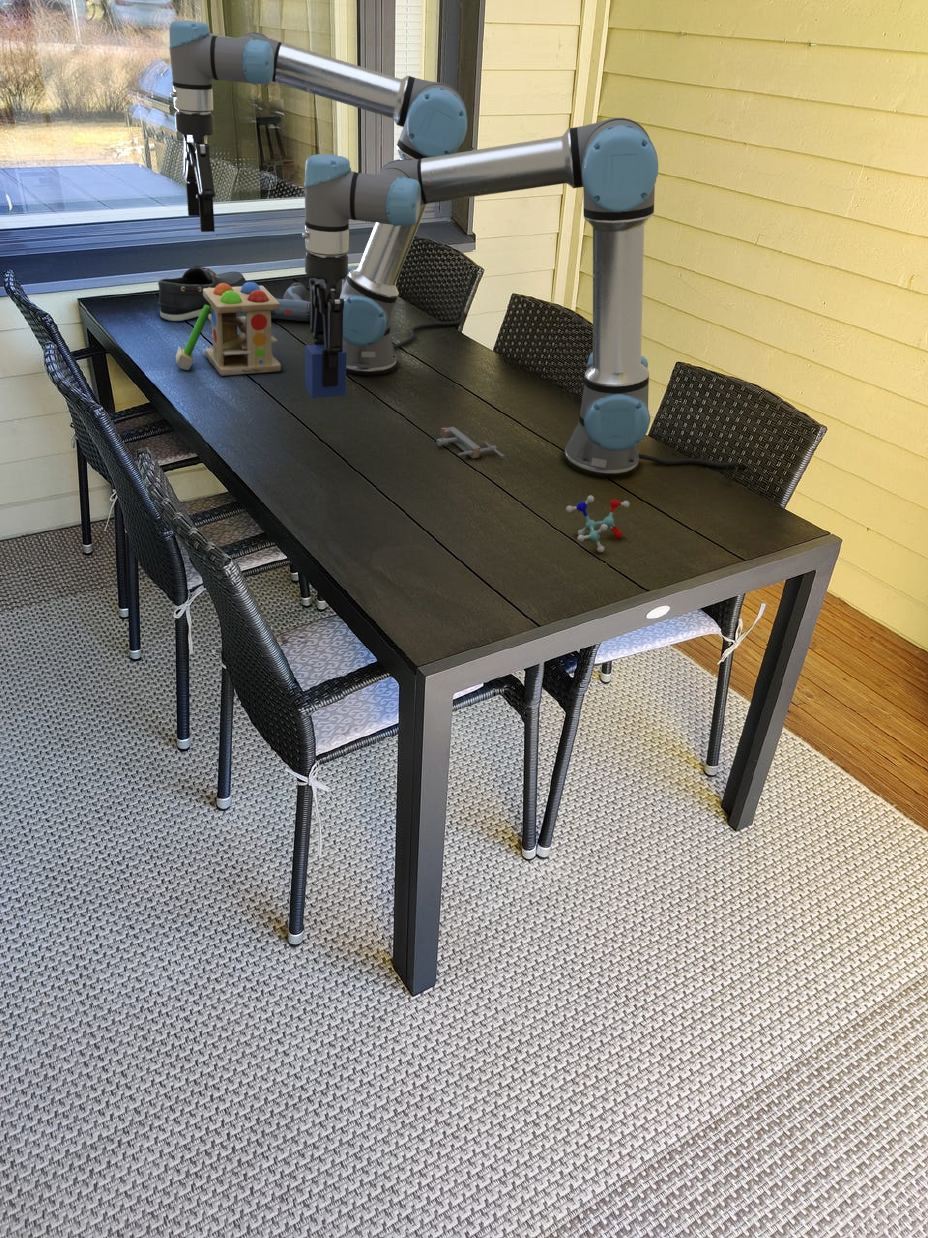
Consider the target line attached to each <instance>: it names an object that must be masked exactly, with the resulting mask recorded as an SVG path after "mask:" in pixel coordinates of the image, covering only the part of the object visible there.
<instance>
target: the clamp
mask: <svg viewBox="0 0 928 1238" xmlns="http://www.w3.org/2000/svg"><path fill="white" fill-rule="evenodd" d="M452 443H453V444H454V445H456V446H457V447H458V448H459V449H460V450H462V451H463V452H458V453H457V456H458V457H460V456H469V457H470V458H472V459H477V458H480V454H482V453H487V452H488V453H496V454H497V455H498V456H499V457H500V459H502V460H504V459H506V457H507V456H506V454H504V453H501V452H500V451H499V450H498V447H497V446H496V445H495V444H494V445H491V444H490V443H489V442H488V441H486V440H485V441H484V442H483V446H484V447H483V448H481V447H480V446H479V444H476V443H475V442H474V441H473V440H471V439H470V438H469V437H468V436H466V435H465V434H464V433H463V432H461V431H460V430H459V429H457V428H456V427H455V426H450V427H441V429H440V437H439V438H436V444H437V445H438V446H439V447H441V446H448V445H449V444H452Z"/></svg>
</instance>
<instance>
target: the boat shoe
mask: <svg viewBox="0 0 928 1238" xmlns="http://www.w3.org/2000/svg"><path fill="white" fill-rule="evenodd" d="M221 283H226V284H228V285H230V286H231V287H242V286H243V285H244V284H245V283H247V280H246V278H245V277H244V274H242V273H241V272H239V271H228V272H223V273H222V272H221V273H218V274H216V273H215V272H214V271H213V270H212V269H210V268H207V267H204V266H200V265H194V266H191V267H190V268H188V269H187V270H185V272H184V273H183V274H182V276H181V277H176V278H161V279H158V281H157V285H158V301H157V305H158V306H159V307H160V309H159V312H160V318H162V319H164V320H166V321H170V322H171V321H172V322H181V321H186V320H190V319H191V320H192V319H194V318H197V317H199V316H200V314H201V311H202V309H203V307H204V305H208V306H210V307H211V305H210V304H209V302H208V301H207V300H206V299H205V297H204V296H203V289H204V288H215V287H216V286H217V285H218V284H221ZM210 312H211V310H210Z"/></svg>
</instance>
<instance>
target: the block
mask: <svg viewBox="0 0 928 1238" xmlns="http://www.w3.org/2000/svg"><path fill="white" fill-rule="evenodd" d="M321 350H325V346H324V344H322V345H314V344H307V345H306V344H305V345H304V389H305V390H306V392H307V393H308V394H309V396H310V397H311V399H318V398H333V397H345V396H347V372H346V360H347V352H346V351H345V350H344V349H343V352H341V353H338V386H327V387H324V386H323V354H322V353H321Z"/></svg>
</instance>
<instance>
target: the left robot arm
mask: <svg viewBox="0 0 928 1238" xmlns="http://www.w3.org/2000/svg"><path fill="white" fill-rule="evenodd" d="M168 32H169V33H168V34H169V35H168V36H169V46H168V50H169V55H170V66H171V67H170V68H171V79H172V89H173V91H171V92H170V93H169V94H170V97H171V98H173V105H174V108H175V109H176V111H175V113H174V123H175V130H176V132H177V133H178V134H180V135H182V137H183V172H182V175H183V177H184V180H185V188H186V202H187V215H188V217H199V224H200V226H199V227H200V232H201V233H215V232H216V231H215V229H216V228H215V212H214V198H215V197H216V192H215V186H214V185H215V184H214V179H213V171H212V163H211V157H210V145H209V143H205V136H212V135H213V134H214V133H215V119H214V118H215V116H214V115H213V113H212V111H214V94H213V91H214V90H213V83H212V81H214V80H215V81H226V82H234V83H244V84H251V85H253V86H254V85H255V86H256V85H269V84H271V83H275V84H276V83H277V84H280V85H283V86H286V87H289V88H293V89H297V90H299V91H302V92H305V93H308V94H313V95H315V96H318V97H322V98H325V99H328V100H331V101H335V102H338V103H341V104H345V105H348V106H351V107H354V108H357V109H361V110H364V111H367V112H370V113H373V114H377V115H380V116H383V117H386V118H390V119H392V120H393V121H394V122H395V123H394V124H396V126H398V127H402V130H401V132H400V135H399V138H398V141H397V143H396V151H397V153H398V156H399V159H403V160H407V161H410V160H417V159H422V158H428V157H434V156H441V155H447V154H453V153H458V150H459V148H460V147H461V146H462V145H463V143H464V141H465V138H466V135H467V132H468V121H469V120H468V114H467V111H468V110H467V106H466V103H465V100H464V98H463V96H462V95H461V94H460V93H459V91H458V90H457V89H455V88H454V87H453V86H452V85H449V84H447V83H443V82H438V81H433V80H432V81H431V80H427V79H422V78H418V77H414V76H411V75H406V76H404V77H403V78H399V77H396V76H392V75H389V74H386V73H383V72H381V71H376V70H373V69H370V68H366V67H363V66H360V65H357V64H355V63H350V62H347V61H344V60H341V59H338V58H334V57H331V56H328V55H324V54H322V53H318V52H315V51H312V50H308V49H305V48H303V47H299V46H295V45H293V44H289V43H285V42H281V41H279V40H275V39H272V38H269V37H268V36H266V35H265V34H264V33H260V32H256V31H252V32H248V33H245V34H244V35H242V36H240V37H230V36H218V35H214V34H211V32H210V28H209V24H207V23H206V22H202V21H195V20H184V19H182V20H180V19H179V20H178V19H177V20H173V21H172V22H171V23H169V27H168ZM427 206H428V204H424V205H420V211H419V216H418V220H417V222H416V224H415V225H413V226H400V225H399V226H394V225H390V224H382V223H374V226H373V229H372V230H371V234H370V237H369V239H368V241H367V244H366V246H365V249H364V252H363V255H362V257H361V260H360V263H359V264H358V265H348V275H347V276H346V277H345V278H343V279H340V280H341V291H340V298H343V299H344V301H345V303H344V309H343V349H344V350H345V351H346V352H347V360H346V374H352V375H356V376H380V375H381V376H382V375H386V374H389V373H391V372H393V371H395V369H396V368H397V361H398V359H397V354H396V352H395V349H399V348H401V347H404V346H406V345H408V344H409V343H411V342H412V341H413V340H414V339H415V333H414V332H415V331H417V330H420V329H425V328H433V327H450V326H452V327H453V326H458V325H460V324H462V323H463V322H464V320H465V317H466V316H467V314H466V311H464V310H461V315H460V319H458V320H455V321H436V322H428V323H421V324H417V325H415V326H413V327H411V328H410V330H409V334H410V336H409V337H408V338H406V339H405V340H403V341H400V342H398V343H396V344H394V343H393V341H392V337H391V336H392V335H391V321H392V313H393V310H394V307H395V305H396V303H397V300H398V297H399V295H400V293H399V290H398V287H397V281H398V279H399V276H400V273H401V271H402V268H403V266H404V263H405V261H406V258H407V256H408V253H409V251H410V249H411V246H412V244H413V241H414V239H415V236H416V234H417V231H418V229H419V226H420V223H421V221H422V219H423V216H424V214H425V211H426V209H427Z"/></svg>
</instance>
